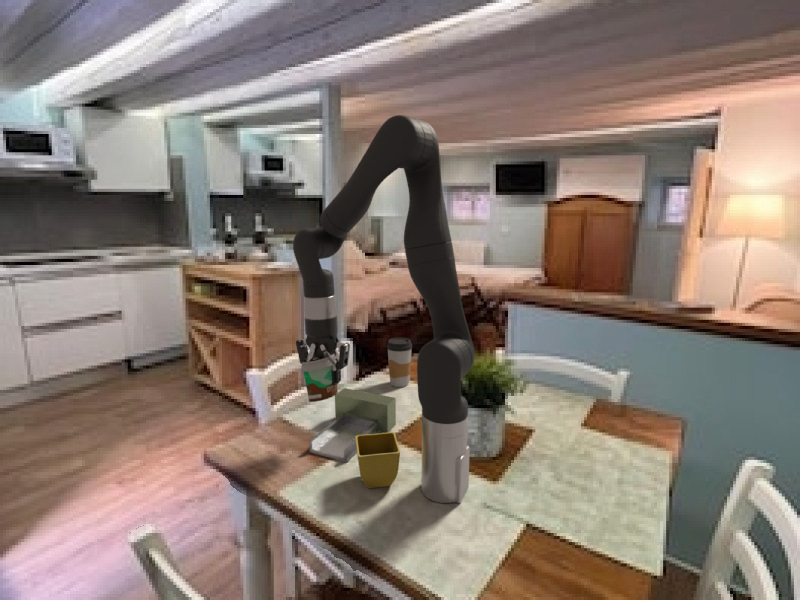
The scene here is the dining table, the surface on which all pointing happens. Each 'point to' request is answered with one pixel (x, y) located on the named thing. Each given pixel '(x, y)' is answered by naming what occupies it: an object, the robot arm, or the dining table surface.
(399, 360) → the coffee cup
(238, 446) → the dining table surface
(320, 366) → the food container
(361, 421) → the grey dustpan tray
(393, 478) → the flower pot
